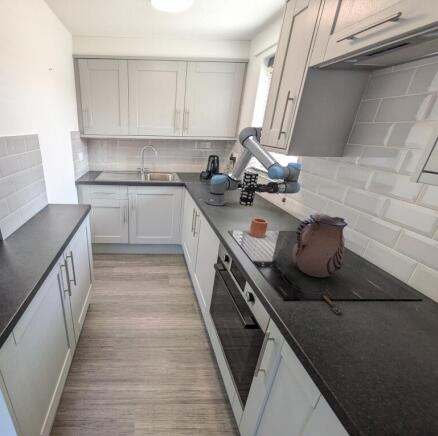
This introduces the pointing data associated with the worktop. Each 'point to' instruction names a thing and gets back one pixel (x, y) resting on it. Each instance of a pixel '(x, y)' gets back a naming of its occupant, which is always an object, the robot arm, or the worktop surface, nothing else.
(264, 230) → the cup
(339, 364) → the worktop surface
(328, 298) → the can opener
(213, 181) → the robot arm
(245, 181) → the spotted tube
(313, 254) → the ceramic pitcher
